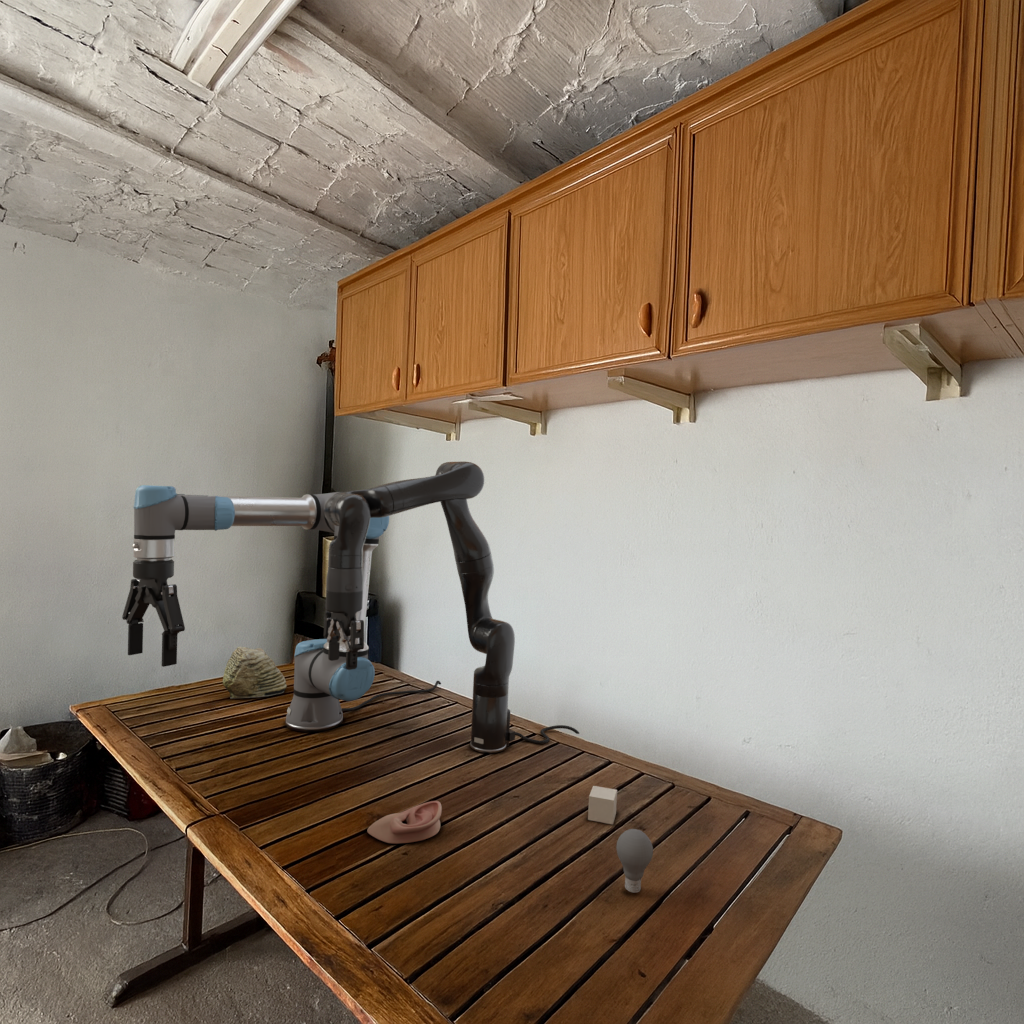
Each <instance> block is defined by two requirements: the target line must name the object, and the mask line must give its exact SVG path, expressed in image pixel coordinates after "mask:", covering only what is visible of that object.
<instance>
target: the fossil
mask: <svg viewBox="0 0 1024 1024" xmlns="http://www.w3.org/2000/svg"><path fill="white" fill-rule="evenodd" d="M222 676H223V677H222V685H223V687H224V688H225V690H226V691H228V693H229V698H230V699H250V698H264V697H271V696H275V695H281V694H284V693H285V691H286V689H287V687H288V686H287V680H286V678H285V676H284V674H283V673H282V672H281V669H279V668H278V667H277V665H276V663H275V662H274V660H273V659H272V658H271V657H270V656H269V655H268V654H267V653H266V652H265V650H264V649H263V648H260V647H258V648H251V647H247V646H246V647H245V646H238V647H237V648H236V649H235V650H233V651H232V653H231V656H230V657H229V659H228V660H227V663H226V666H225V668H224V671H223V675H222Z"/></svg>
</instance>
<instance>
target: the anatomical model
mask: <svg viewBox="0 0 1024 1024" xmlns="http://www.w3.org/2000/svg"><path fill="white" fill-rule="evenodd" d="M442 812H443V807H442V804H441V802H440V801H438V800H431V801H426V802H424V803H421V804H418V805H415V806H412V807H410V808H408V809H405V810H403V811H401V812H397V813H391V814H387V815H385V816H383V817H381V818H379V819H377V820H376V821H374V822H373V823H372V824H371V825H369V826H368V828H367V831H366V832H367V833H368V834H369V835H370V836H372V837H373V838H375V839H377V840H379V841H381V842H384V843H387V844H394V845H395V844H408V843H414V842H420V841H424V840H426V839H429V838H432V837H434V836H436V835H437V834H438V833H439V831H440V829H441V820H440V819H441V816H442Z"/></svg>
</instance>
